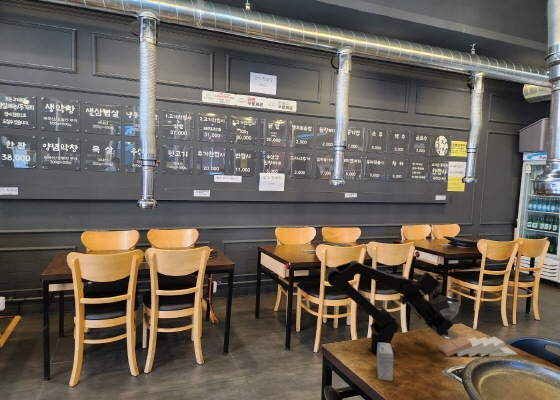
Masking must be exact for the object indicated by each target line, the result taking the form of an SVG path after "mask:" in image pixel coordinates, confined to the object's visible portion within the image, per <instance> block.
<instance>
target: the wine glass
mask: <svg viewBox="0 0 560 400" xmlns="http://www.w3.org/2000/svg"><path fill="white" fill-rule="evenodd" d="M443 296H444V295H443ZM444 297H445V298H447V300H448V303H449V305H450V307H449V308H445V309H443V310H441V311H439V312H440V315H442V316H445V317H446V318H448V319H449V320H450V321H451V320H452V319H454V318H455V317H456V316H457V315H458V313H459V310H460V304H461V301H460V299H458V298H455V297H452V296H444ZM451 322H452V321H451ZM448 333H449V334H448V335H447V336H446V335H444V334H443V335H442V336H441V337H442V338H446V339H456V338H457V335H456V334H455V333H453V332H451V331H449V330H448Z"/></svg>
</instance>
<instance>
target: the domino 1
mask: <svg viewBox="0 0 560 400" xmlns="http://www.w3.org/2000/svg"><path fill="white" fill-rule="evenodd" d="M470 347H472V344H471V342H470V341H468V339H467V338H466V337H464V336H461V337H459V338H457V339H456V338H455V339H454V340H451V341H450V342H446V343H444V344H442V345H438V348H439V351H440V352H441V353H443V354H444V355H445V356H446V357H450V356H453V355H456V354H455V353H458V352H460V351H463V350H465V349H468V348H470Z"/></svg>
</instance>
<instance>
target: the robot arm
mask: <svg viewBox="0 0 560 400" xmlns="http://www.w3.org/2000/svg"><path fill="white" fill-rule="evenodd" d="M355 275H360V276H362V277H365V278H368V279H371V280H373V281H376V282H378V283H380V284H384V285H386V287H389V288H391V289H392V290H393V291H396V292H397V293H398V294H400V295H399V299H398V302H399V303H400V304H402V305H403V306H404V305H406V304H408V305H409V306H410V307H411V308H412V310H413V311H414V316H415V317H417V319H420V320H422V321H424V324H425V325H426V326H427V327H429V328H430V329H431V330H433V331H434V332H435V333H436V334H437V335H438V336H440V337H442V335H443V334H444V335H446V336H447V335H448V334H449V333H448V331H449V330H450V329H451V328H452V327H453V326H454V323H453V321H450V320H449V319H448V318H446V317H445V316H443V315H442V316H441V312H440V311H441V310H443V309H445V308H449V307H450V305H449V303H448V300H447V298H445V297H444V295H440V294H438V295H437V294H436V293H435V292H436V291H437V290H438V289H439V288H440V287H442V284H441V282H439V280H438V279H436V278H435V277H434V276H432V275H431V274H430V273H429V272H427V271H425V272H424V273H423V274H422V275H421V277H419V278H418V279H416V281H415V280H413V279H408V278H406V277H405V276H403V275H401V274H395V273H387V272H384V271H381V270H379V269H377V268H374V267H371V266H368V265H366V264H365V263H364V264H363V263H361V262H359V261H357V260H351V261H350V262H346V263H342V264H339V265H338V266H330V267H328V268H327V269H326V270H325V273H324V278H325V279H326V281H327V282H328V284H329V285H330V286H331V287H332V288H335V290H336V289H337V290H338V291H340V292H342V293H344V294H345V295H347V297H349V298H350V299H351V300H352V301H353V302H354V303H355V304H356V305H358V306H359V307H360V308H361V309H362V310H363V311H365V313H366V314H368V316H370V317H371V318H372V319H373V321H374V322H372V324H369V325H370V329H371V332H372V333H373V334H372V335H371V346H370V348H368V349H367V350H368V351H369V352H371V353H372V354H373V355H376V356H377V343H378V342H381V343H389V344H391V345H392V341H393V338H394V336H395V334H396V333H397V332H398V330H399V323H398V322H397V318H396V317H395V316H394V315H393V314H392V313H391V312H389V311H388V310H387V308H385V307H384V306H382V307H381V308H378V307H376V306H375V304H373V303H372V302H371V301H370V300H369V299H368V298H367V297H365V296H364V294H362V293H361V292H360V291H358V290H357V289H356V288H355V287H354V286H353V285H352V284H351V283H350V282H349V280H350V279H351V278H353V277H354V276H355ZM425 296H428V297H429V300H428V299H426V298H425Z"/></svg>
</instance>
